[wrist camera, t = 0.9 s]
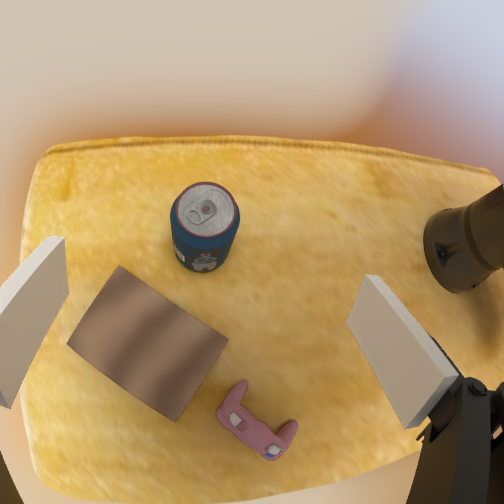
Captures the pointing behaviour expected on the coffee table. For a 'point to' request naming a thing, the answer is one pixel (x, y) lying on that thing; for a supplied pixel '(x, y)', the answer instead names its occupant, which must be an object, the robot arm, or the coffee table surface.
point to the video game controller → (253, 426)
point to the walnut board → (146, 344)
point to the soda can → (204, 225)
